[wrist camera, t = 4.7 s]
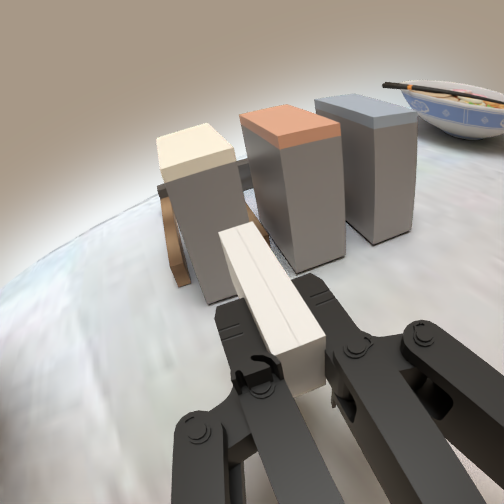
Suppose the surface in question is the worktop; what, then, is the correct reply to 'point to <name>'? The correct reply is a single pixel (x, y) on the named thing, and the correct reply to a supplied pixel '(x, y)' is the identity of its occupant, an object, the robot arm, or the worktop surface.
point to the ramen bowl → (455, 107)
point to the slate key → (376, 162)
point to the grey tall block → (204, 200)
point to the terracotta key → (298, 182)
